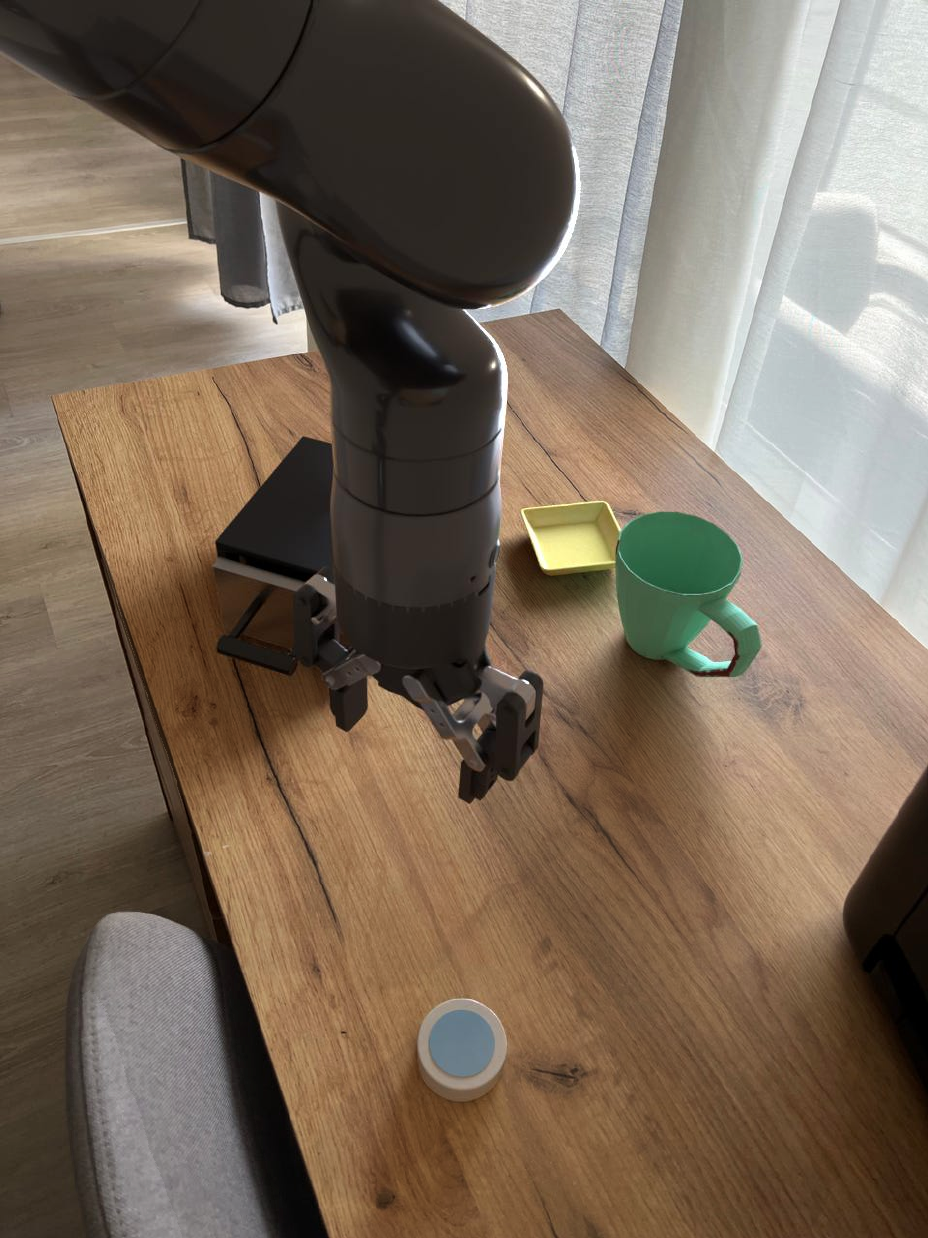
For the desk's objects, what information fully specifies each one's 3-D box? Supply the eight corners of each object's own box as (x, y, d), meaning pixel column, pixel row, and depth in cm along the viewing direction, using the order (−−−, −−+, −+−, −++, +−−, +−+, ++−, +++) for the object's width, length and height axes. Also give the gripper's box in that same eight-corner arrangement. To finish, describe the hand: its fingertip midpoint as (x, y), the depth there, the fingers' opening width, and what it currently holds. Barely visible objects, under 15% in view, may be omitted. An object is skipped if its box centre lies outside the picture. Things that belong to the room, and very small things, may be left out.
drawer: (332, 726, 72) (328, 664, 67) (186, 678, 74) (171, 615, 69) (427, 562, 85) (430, 500, 80) (300, 526, 88) (294, 463, 83)
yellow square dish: (539, 587, 85) (541, 570, 83) (516, 524, 91) (518, 507, 89) (631, 577, 86) (635, 560, 85) (603, 516, 92) (606, 499, 91)
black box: (379, 667, 77) (378, 588, 71) (228, 620, 80) (214, 541, 74) (444, 551, 88) (448, 473, 81) (309, 513, 90) (302, 435, 84)
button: (464, 1122, 54) (466, 1110, 53) (398, 1058, 56) (398, 1045, 55) (521, 1052, 57) (525, 1039, 56) (456, 994, 59) (458, 980, 58)
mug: (574, 619, 82) (591, 531, 75) (664, 585, 86) (689, 497, 79) (679, 742, 74) (710, 656, 67) (775, 698, 77) (814, 612, 70)
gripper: (240, 526, 44) (273, 740, 55) (506, 663, 39) (481, 866, 50) (342, 448, 48) (352, 661, 60) (592, 561, 43) (550, 769, 55)
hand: (411, 754), depth 55 cm, fingers open, 8 cm apart
